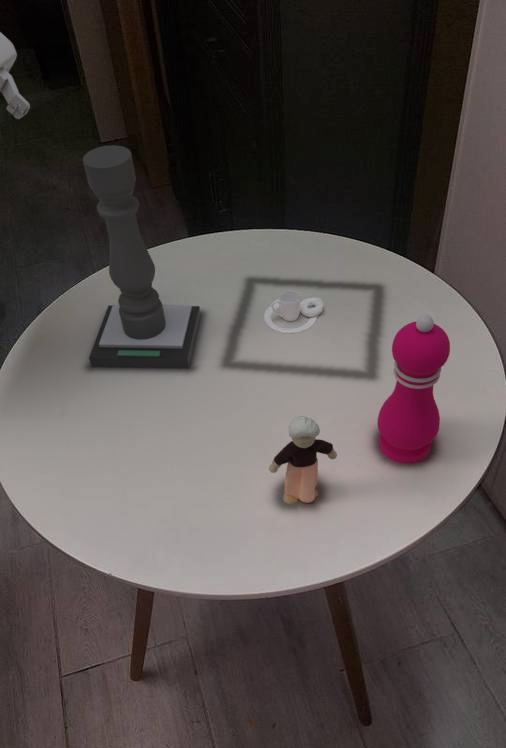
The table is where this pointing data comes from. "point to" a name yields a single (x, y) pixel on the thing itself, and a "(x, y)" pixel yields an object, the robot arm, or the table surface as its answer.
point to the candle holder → (125, 240)
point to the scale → (147, 341)
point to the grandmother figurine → (302, 460)
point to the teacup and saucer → (294, 310)
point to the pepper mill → (413, 392)
